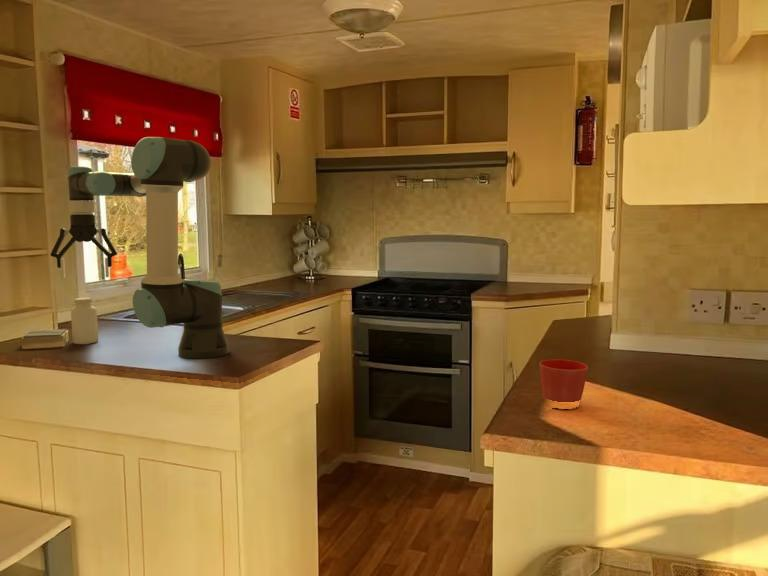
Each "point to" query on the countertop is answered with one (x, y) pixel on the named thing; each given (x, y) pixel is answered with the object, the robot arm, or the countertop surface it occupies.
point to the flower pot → (563, 380)
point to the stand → (45, 338)
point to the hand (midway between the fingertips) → (85, 277)
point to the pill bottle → (84, 322)
